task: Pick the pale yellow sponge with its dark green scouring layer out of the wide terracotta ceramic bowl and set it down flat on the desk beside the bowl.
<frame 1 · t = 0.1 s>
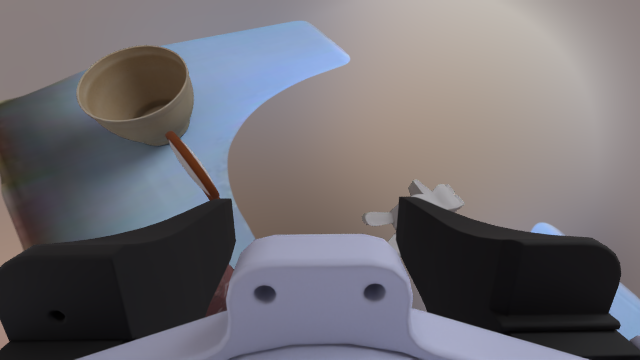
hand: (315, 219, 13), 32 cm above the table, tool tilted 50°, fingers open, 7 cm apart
can: (227, 297, 42), on the table
planter bowl: (164, 126, 57), on the table
magnifying glass: (229, 221, 48), on the table
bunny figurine: (412, 222, 48), on the table
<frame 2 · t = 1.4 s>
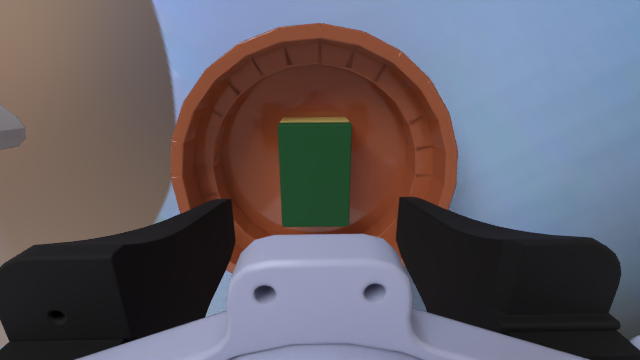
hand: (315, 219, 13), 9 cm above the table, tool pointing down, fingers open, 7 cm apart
bowl: (314, 161, 22), on the table
sponge: (315, 163, 22), point 1 cm above the table, touching bowl
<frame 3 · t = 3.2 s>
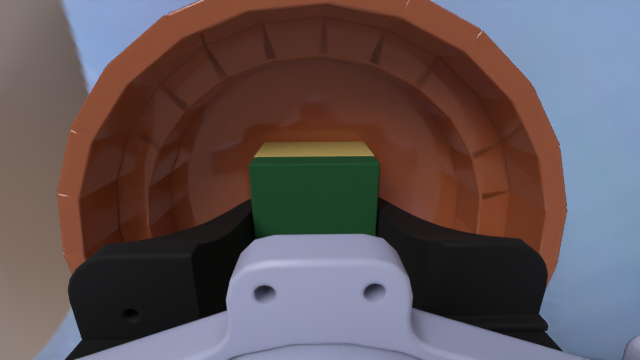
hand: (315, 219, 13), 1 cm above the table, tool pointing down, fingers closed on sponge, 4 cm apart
bowl: (315, 205, 15), on the table
sponge: (315, 211, 14), point 1 cm above the table, touching bowl, gripper
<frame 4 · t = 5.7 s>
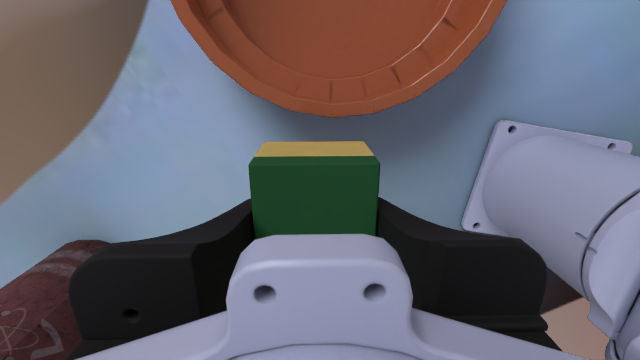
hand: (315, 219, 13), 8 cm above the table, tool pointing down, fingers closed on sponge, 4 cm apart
sponge: (314, 211, 14), point 8 cm above the table, touching gripper
can: (99, 270, 24), on the table
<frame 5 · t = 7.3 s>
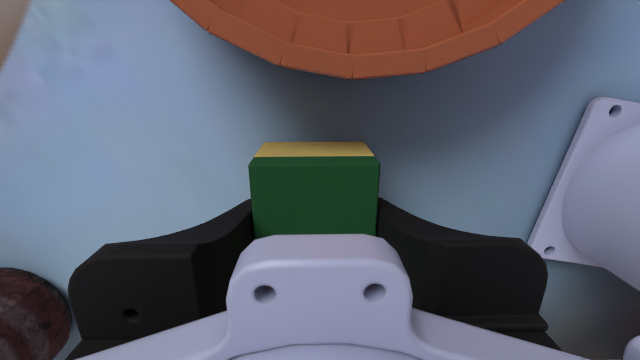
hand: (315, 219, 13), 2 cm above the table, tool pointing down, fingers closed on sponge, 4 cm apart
sponge: (314, 211, 14), point 1 cm above the table, touching gripper
can: (20, 308, 17), on the table
when the fingers open (1 cm above the table, at t = 8.1 s): sponge stays where it is, on the table.
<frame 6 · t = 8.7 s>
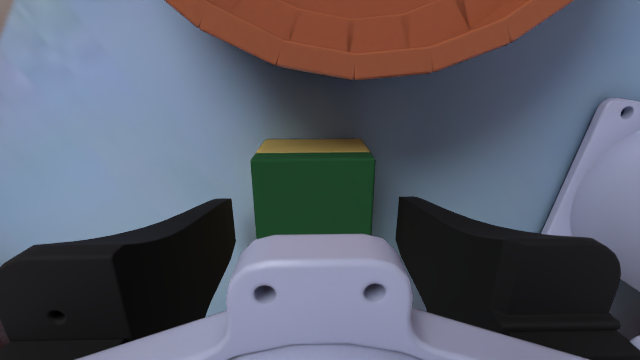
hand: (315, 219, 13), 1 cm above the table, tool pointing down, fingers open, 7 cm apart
sponge: (313, 206, 15), on the table
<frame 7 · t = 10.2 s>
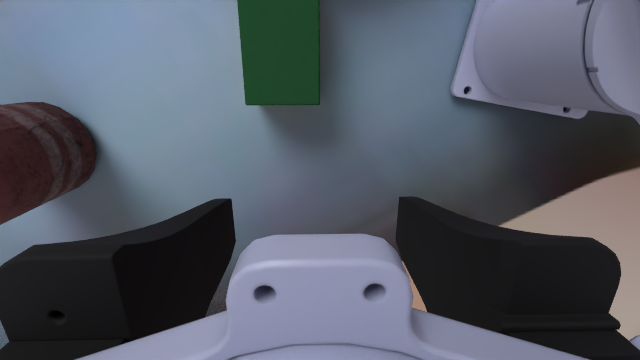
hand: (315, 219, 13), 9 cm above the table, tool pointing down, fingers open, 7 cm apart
sponge: (285, 48, 20), on the table
can: (55, 146, 22), on the table
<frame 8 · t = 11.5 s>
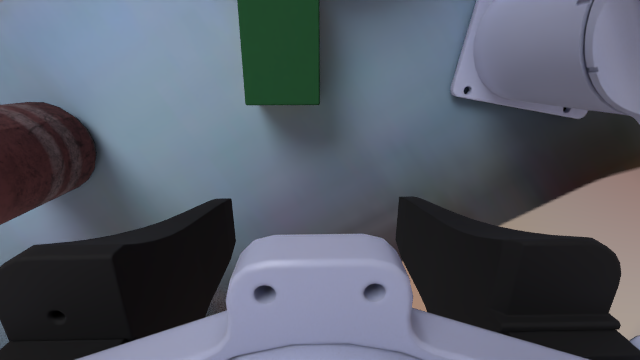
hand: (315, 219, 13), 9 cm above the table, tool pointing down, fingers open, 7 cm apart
sponge: (285, 48, 20), on the table
can: (55, 146, 22), on the table
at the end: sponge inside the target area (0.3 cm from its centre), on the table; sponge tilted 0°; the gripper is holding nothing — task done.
